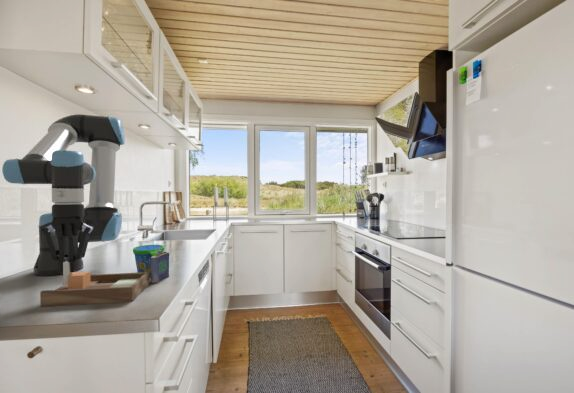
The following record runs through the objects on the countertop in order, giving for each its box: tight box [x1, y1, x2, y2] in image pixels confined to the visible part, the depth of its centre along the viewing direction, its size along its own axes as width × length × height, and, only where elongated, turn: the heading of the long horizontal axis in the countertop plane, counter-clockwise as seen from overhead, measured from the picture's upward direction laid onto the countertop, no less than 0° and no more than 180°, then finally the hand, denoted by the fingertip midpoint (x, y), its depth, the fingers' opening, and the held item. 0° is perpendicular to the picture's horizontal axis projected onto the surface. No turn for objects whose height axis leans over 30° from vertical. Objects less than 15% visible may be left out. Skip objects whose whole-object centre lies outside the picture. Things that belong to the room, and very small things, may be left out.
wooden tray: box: [39, 272, 151, 308], centre depth 85 cm, size 15×23×4 cm, turn 99°
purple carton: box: [150, 249, 170, 285], centre depth 99 cm, size 9×3×11 cm, turn 172°
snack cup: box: [132, 244, 165, 277], centre depth 105 cm, size 16×10×10 cm
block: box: [68, 271, 91, 289], centre depth 84 cm, size 4×4×4 cm
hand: (68, 283), depth 83 cm, fingers closed
